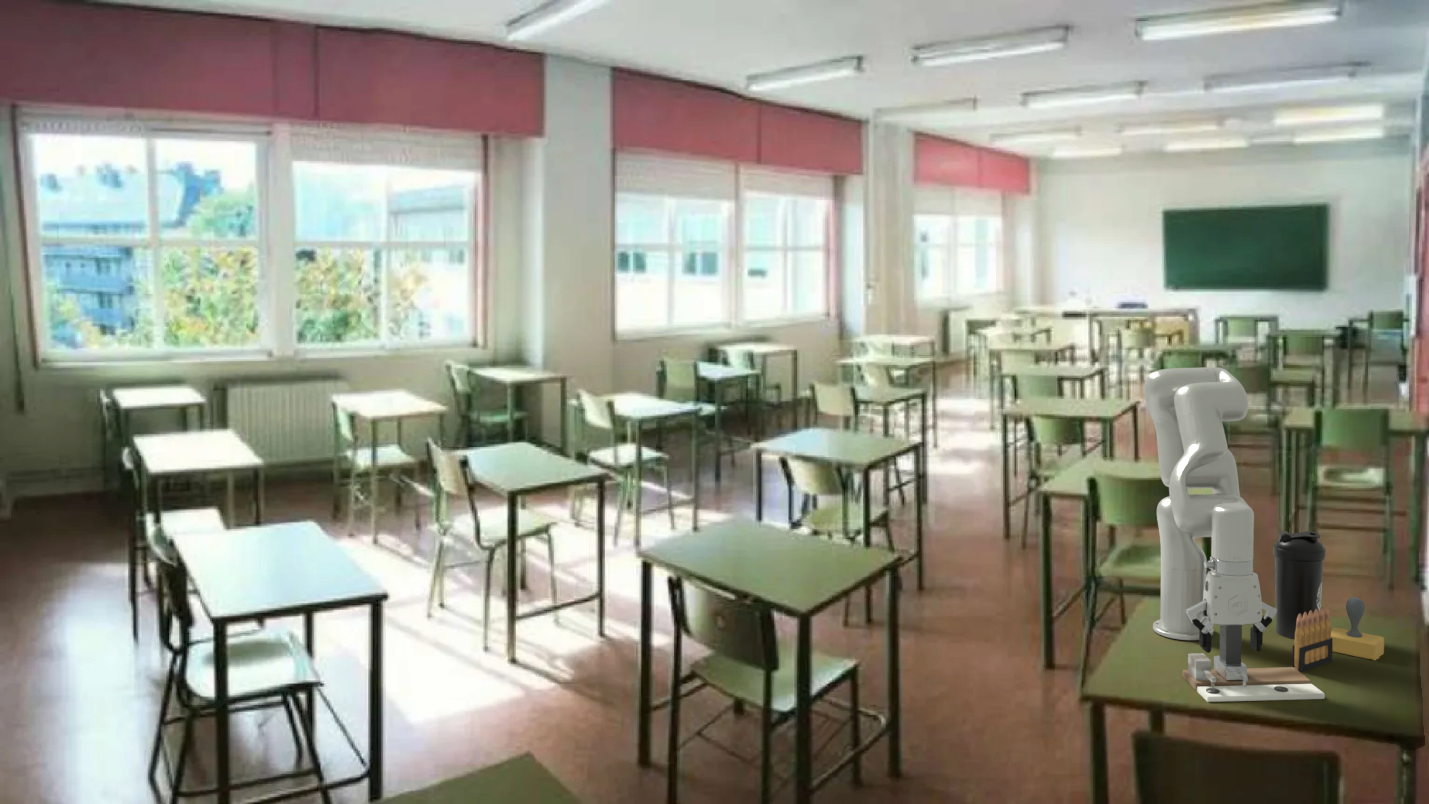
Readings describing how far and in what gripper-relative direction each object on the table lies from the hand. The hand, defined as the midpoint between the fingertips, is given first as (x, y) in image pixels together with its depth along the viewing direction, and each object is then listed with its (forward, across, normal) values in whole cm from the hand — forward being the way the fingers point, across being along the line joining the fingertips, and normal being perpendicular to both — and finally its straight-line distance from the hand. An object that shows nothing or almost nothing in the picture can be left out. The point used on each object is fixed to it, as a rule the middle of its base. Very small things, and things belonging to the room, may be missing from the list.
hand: (1230, 649), depth 218 cm
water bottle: (+7, +26, +27) cm, 38 cm away
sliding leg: (+5, 0, -2) cm, 5 cm away
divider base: (+7, +3, -2) cm, 8 cm away
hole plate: (+7, +3, -6) cm, 10 cm away
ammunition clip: (+7, +20, +8) cm, 23 cm away
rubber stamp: (+7, +32, +15) cm, 36 cm away
